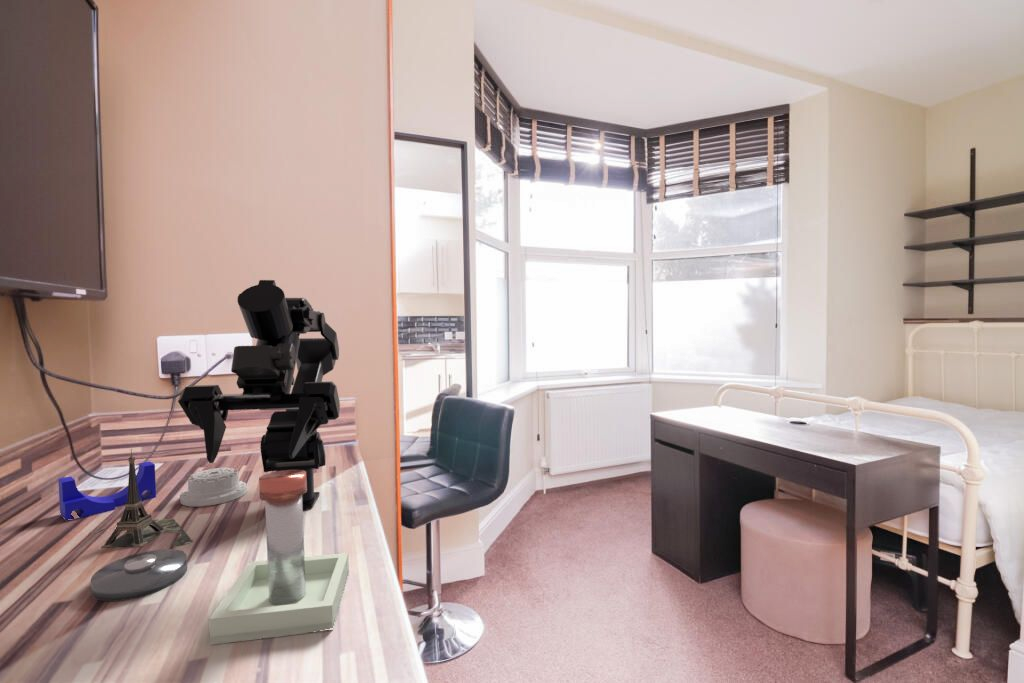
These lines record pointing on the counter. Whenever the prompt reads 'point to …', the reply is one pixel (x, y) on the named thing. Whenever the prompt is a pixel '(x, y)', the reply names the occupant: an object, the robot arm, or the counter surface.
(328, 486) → the counter surface
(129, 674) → the counter surface
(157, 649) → the counter surface
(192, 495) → the mechanical component
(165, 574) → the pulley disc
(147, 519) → the eiffel tower figurine
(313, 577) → the tray
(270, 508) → the pin
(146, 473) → the blue cradle bracket
